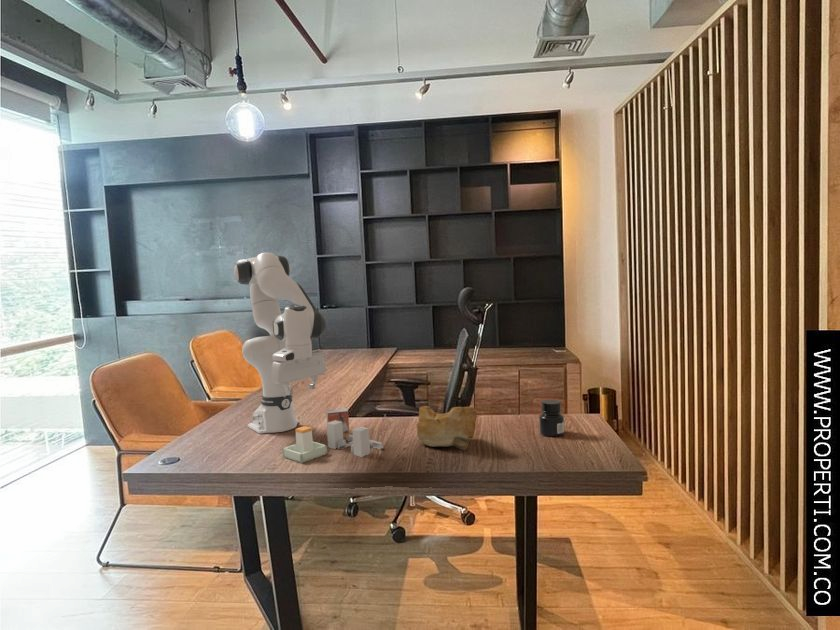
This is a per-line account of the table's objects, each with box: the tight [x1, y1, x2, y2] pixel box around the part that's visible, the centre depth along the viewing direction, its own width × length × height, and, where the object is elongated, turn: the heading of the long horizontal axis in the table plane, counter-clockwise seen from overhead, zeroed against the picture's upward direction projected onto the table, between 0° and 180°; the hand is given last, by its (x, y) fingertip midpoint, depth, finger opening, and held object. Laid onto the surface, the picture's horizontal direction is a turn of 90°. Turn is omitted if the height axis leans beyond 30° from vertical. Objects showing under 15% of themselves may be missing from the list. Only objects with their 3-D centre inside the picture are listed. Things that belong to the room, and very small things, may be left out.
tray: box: [282, 440, 328, 464], centre depth 171 cm, size 11×11×3 cm
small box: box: [325, 407, 350, 439], centre depth 189 cm, size 8×6×10 cm
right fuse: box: [351, 425, 371, 458], centre depth 169 cm, size 4×4×9 cm
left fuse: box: [326, 420, 344, 450], centre depth 178 cm, size 4×4×9 cm
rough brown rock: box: [416, 405, 478, 451], centre depth 176 cm, size 23×17×15 cm
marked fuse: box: [294, 425, 314, 453], centre depth 170 cm, size 4×4×9 cm
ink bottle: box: [538, 399, 565, 438], centre depth 182 cm, size 10×9×12 cm
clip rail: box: [337, 433, 384, 455], centre depth 177 cm, size 18×10×3 cm, turn 49°
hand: (301, 391), depth 169 cm, fingers open, 8 cm apart
